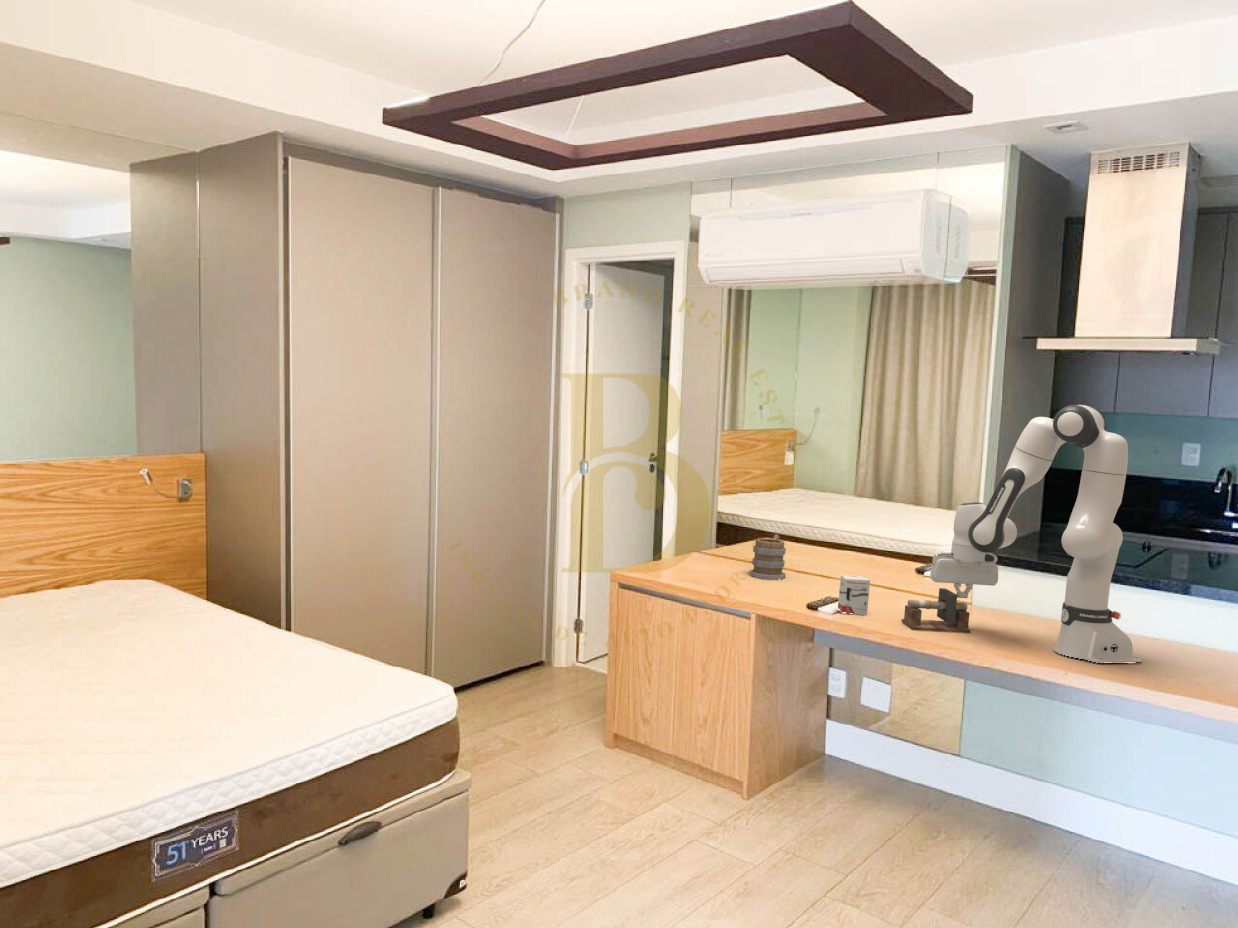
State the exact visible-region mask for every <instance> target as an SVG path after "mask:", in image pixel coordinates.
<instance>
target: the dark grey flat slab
mask: <svg viewBox="0 0 1238 928" xmlns="http://www.w3.org/2000/svg"><path fill="white" fill-rule="evenodd" d="M937 601H941V602H946V610H944V609H936V610H937V612H936V617H937V618H939V619H940V620H941V621H945V622H947V623H949V624H955V615H956V604H957V602H958V597H957V593H955V592H953V591H951V590H949V589H947V588H944V587H943V588H942V587H940V588H939V590H938V598H937Z"/></svg>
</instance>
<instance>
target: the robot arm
mask: <svg viewBox="0 0 1238 928" xmlns="http://www.w3.org/2000/svg"><path fill="white" fill-rule="evenodd" d="M1106 428H1107V421H1106V418H1105V416H1104V414H1103V413H1102V412H1101V411H1100V410H1099V409H1098V408H1095V407H1092V406H1089V405H1084V404H1071V405H1070V404H1069V405H1067V406H1064V407H1063V408H1061V409H1060V410H1059V411H1057V413H1056V414H1055V416H1054V418H1050V417H1048V416H1037V417H1033V418H1032V419H1031V420H1030V421H1028V424H1027V425H1025V427H1024V429H1023V431H1022V432H1021V434H1020V436H1019V437H1018V439H1017V441H1016V444H1015V446H1014V448H1013V449H1012V452H1011V455H1010V457H1009V460H1008V461H1007V465H1006V467H1005V469H1004V472H1003V474H1002V476H1001V478H1000V480H999V482H998V484H997V486H996V488H995V490H994V491H993V493H992V496H991V498H990V499H989V501H988V504H987V505H986V504H984V503H983V502H979V501H978V502H974V501H973V502H964V503H961V504H959V505H958V506H957V508H956V511H955V514H954V515H955V516H954V521H953V539H952V542H951V549H950V552H941V551H939V552H937V553H935V554H933V556H932V560H931V561H932V562H931V563H932V565H931V570H930V575H929V576H930V579H931V581H933V582H935V583H940V584H941V583H943V584H953V587H954V589H955V591H956V594H957V599H968V598H969V594H970V592H971V590H973V586H975V585H978V586H996V585H997V584H998V582H999V567H998V565H997V562H998V556H997V555H995V554H993V553H992V552H995V551H997V550H999V549H1003V548H1006V547H1008V546H1010V545H1012V544H1013V543H1014V542H1015V541H1016V539H1017V538H1018V527H1017V525H1016V523H1015V522H1014V521H1013V520H1012V519H1010V518H1009V517H1008V516H1009V515H1010V512H1011V511H1012V508H1013V507H1014V505H1015V503H1016V501H1017V499H1018V498H1019V497H1020V496H1021V494H1023V493H1024V492H1025V491H1026V490H1027V489H1029V488H1030V487H1032V486H1034V485H1035V484H1037V483H1038V482H1040V481H1041V480H1042V479H1043V478H1044V476H1046V474H1047V472H1048V471H1049V469H1050V467H1051V466H1052V463H1053V461H1054V459H1055V456H1056V454H1057V453H1058V450H1059V449H1060V447H1061V446H1062V445H1064V444H1065V443H1067V444H1070V445H1073V446H1075V447H1077V448H1079V449H1082V450H1083V453H1084V458H1083V465H1082V471H1081V476H1080V483H1079V487H1078V493H1077V497H1076V501H1075V503H1074V506H1073V508H1072V512H1071V514H1070V517H1069V521H1068V523H1067V526H1066V529H1065V530H1064V531H1063V533H1062V536H1061V545H1062V546H1061V547H1062V548H1063V550H1064V552H1066V554H1067V555H1069V556H1071V557H1072V558H1073V561H1072V564H1071V567H1070V570H1069V571H1068V573H1067V577H1066V585H1065V594H1064V595H1065V596H1064V602H1062V607H1061V615H1060V617H1061V618H1060V621H1061V624H1060V629H1059V633H1058V637H1057V639H1056V642H1055V644H1054V647H1053V648H1052V649H1053V651H1054V652H1055V653H1057V654H1059V655H1061V654H1062V655H1061V656H1064V655H1065V656H1064V657H1067V656H1069V658H1071V657H1074V658H1073V659H1075V658H1079V659H1078V660H1080V659H1085V660H1089V661H1092V662H1091V663H1093V662H1097V663H1101V662H1102V663H1104V662H1142V660H1141V658H1140V657H1139V656H1138V655H1136V654H1134V653H1133V651H1134V650H1133V649H1134V648H1133V643H1132V640H1131V638H1130V637H1129V636H1128V634H1126V633H1125V632H1124V631H1123V630H1121V628H1119V626H1117V625H1116V624H1115V623H1114V622H1113V619H1114V620H1120V619H1121V617H1122V614H1121V612H1118V611H1115V610H1113V611H1112V610H1111V609H1109V607H1108V606H1109V597H1110V589H1111V582H1112V577H1113V573H1114V570H1115V567H1116V564H1117V559H1118V555H1119V551H1120V548H1121V546H1122V543H1123V540H1124V536H1123V534H1124V533H1123V532H1122V529H1121V527H1119V526H1118V525H1117V524H1116V523H1114V519H1115V517H1116V514H1117V512H1118V510H1119V507H1120V506H1121V504H1122V502H1123V501H1122V500H1123V497H1124V496H1123V495H1124V491H1125V485H1126V478H1127V473H1128V463H1129V447H1128V441H1127V440H1126V439H1125V437H1124V436H1122V435H1120V434H1117V433H1115V432H1109V431H1106ZM962 585H965V589H964V590H963V591H962V590H961V587H962ZM1085 660H1084V661H1085ZM1089 661H1088V662H1089ZM1097 663H1096V664H1097Z"/></svg>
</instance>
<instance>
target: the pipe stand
mask: <svg viewBox="0 0 1238 928" xmlns="http://www.w3.org/2000/svg"><path fill="white" fill-rule="evenodd" d="M922 609H926V610H937V609H944V610H946V602H941V601H938V600H921V599H908V600H907V605H905V606H904V616H903V618H901V621H900V622H901V623H902V624H904V625H905V626H907V627H908V628H909V629H911V630H912V631H920V632H921V631H922V632H923V631H925V632H943V633H944V632H945V633H960V632H962V633H965V634H971V633H972V630H971V629H970V628H969V622H970V612H969V611H967V610H968V603H967V602H959V601H957V604H956V615H955V624H949V623H947V622H945V621H944V620H933V619H931V620H930V619H922V612H923V611H922Z"/></svg>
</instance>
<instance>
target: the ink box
mask: <svg viewBox="0 0 1238 928" xmlns="http://www.w3.org/2000/svg"><path fill="white" fill-rule="evenodd" d="M870 585H871V579H869V578H867V577H866V576H865V575H864V576H863V575H862V576H861V575H846V574H845V575H840V582H839V590H838V591H839V593H838V604H837V609H838V608H839V609H840V610H841V612H846V613H853V614H858V615H857V616H867V615H868V608H869V598H870V597H869V596H870ZM853 614H852V615H853Z"/></svg>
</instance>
